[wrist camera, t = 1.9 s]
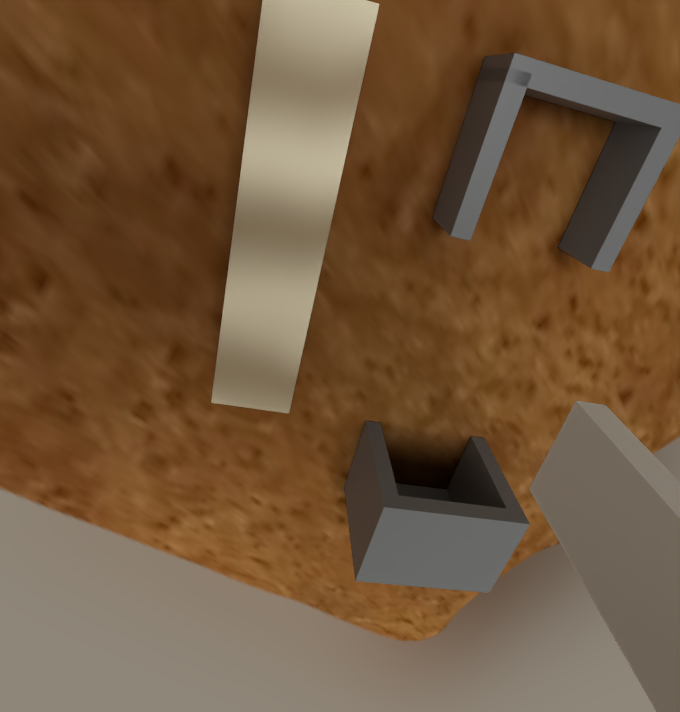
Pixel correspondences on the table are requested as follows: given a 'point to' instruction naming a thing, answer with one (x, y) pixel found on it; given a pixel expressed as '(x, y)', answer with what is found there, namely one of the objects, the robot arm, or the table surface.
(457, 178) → the grey u-shaped bracket
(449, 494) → the open grey box
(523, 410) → the table surface
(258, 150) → the slat
